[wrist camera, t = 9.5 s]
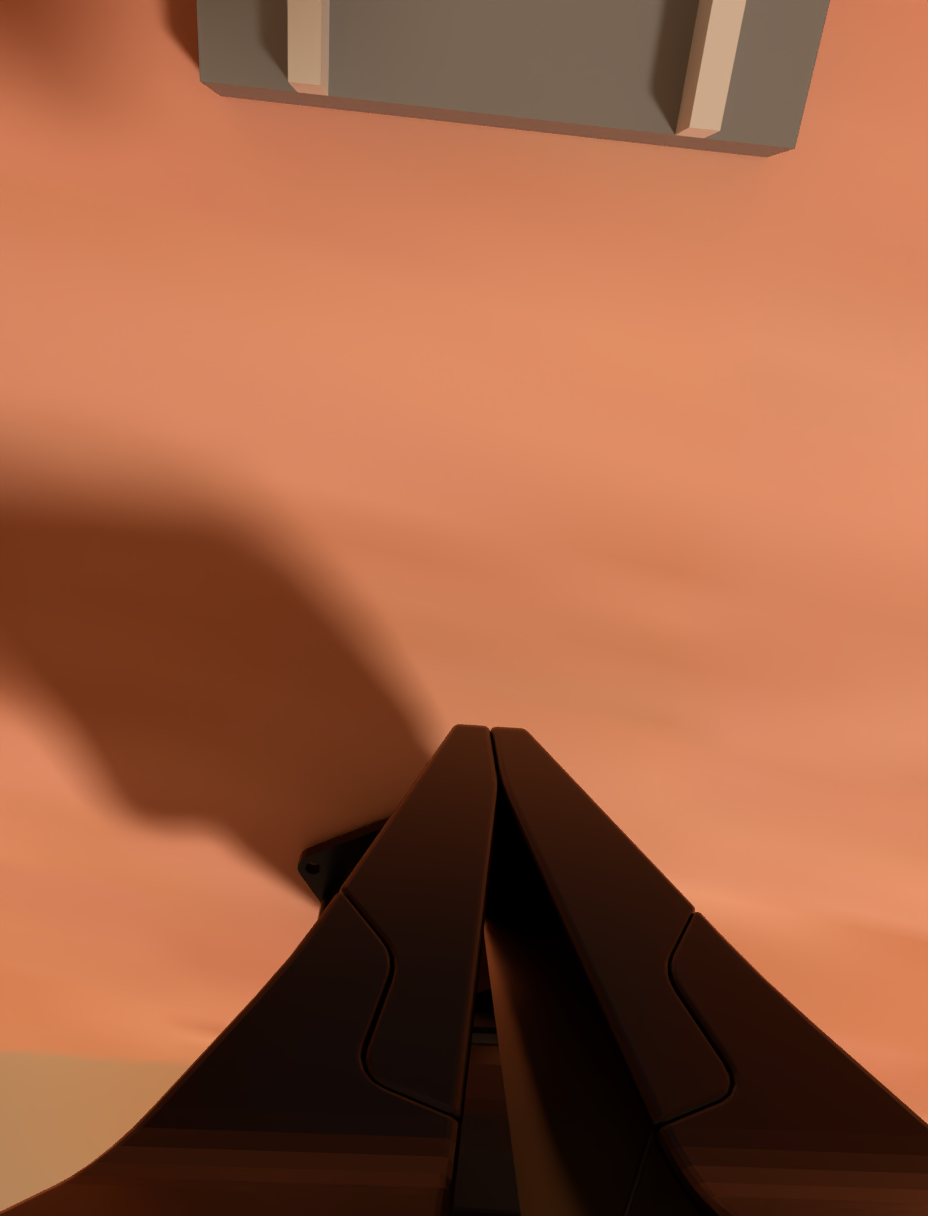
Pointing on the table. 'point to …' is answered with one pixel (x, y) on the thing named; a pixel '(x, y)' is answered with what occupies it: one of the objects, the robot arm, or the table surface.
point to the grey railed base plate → (532, 64)
